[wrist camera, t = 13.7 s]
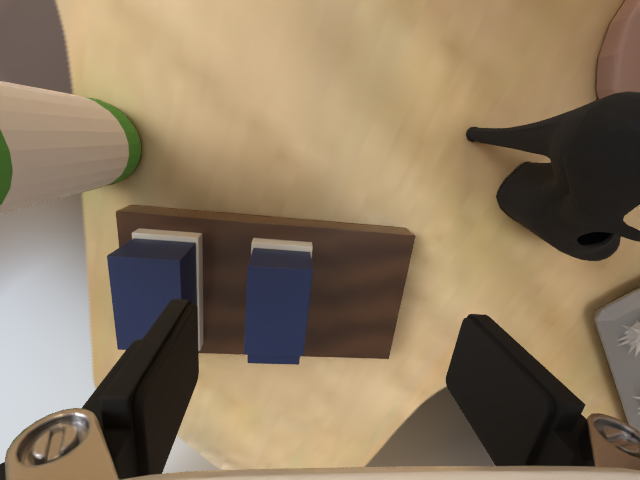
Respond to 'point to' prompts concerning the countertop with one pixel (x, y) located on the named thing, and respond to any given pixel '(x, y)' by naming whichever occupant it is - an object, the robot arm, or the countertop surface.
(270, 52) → the countertop surface
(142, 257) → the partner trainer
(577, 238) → the high-heeled shoe
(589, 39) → the countertop surface
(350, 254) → the dark brown flat board
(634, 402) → the decorative tray
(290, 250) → the blue pale-edged block
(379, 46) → the countertop surface
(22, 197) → the wine bottle
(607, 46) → the hourglass
